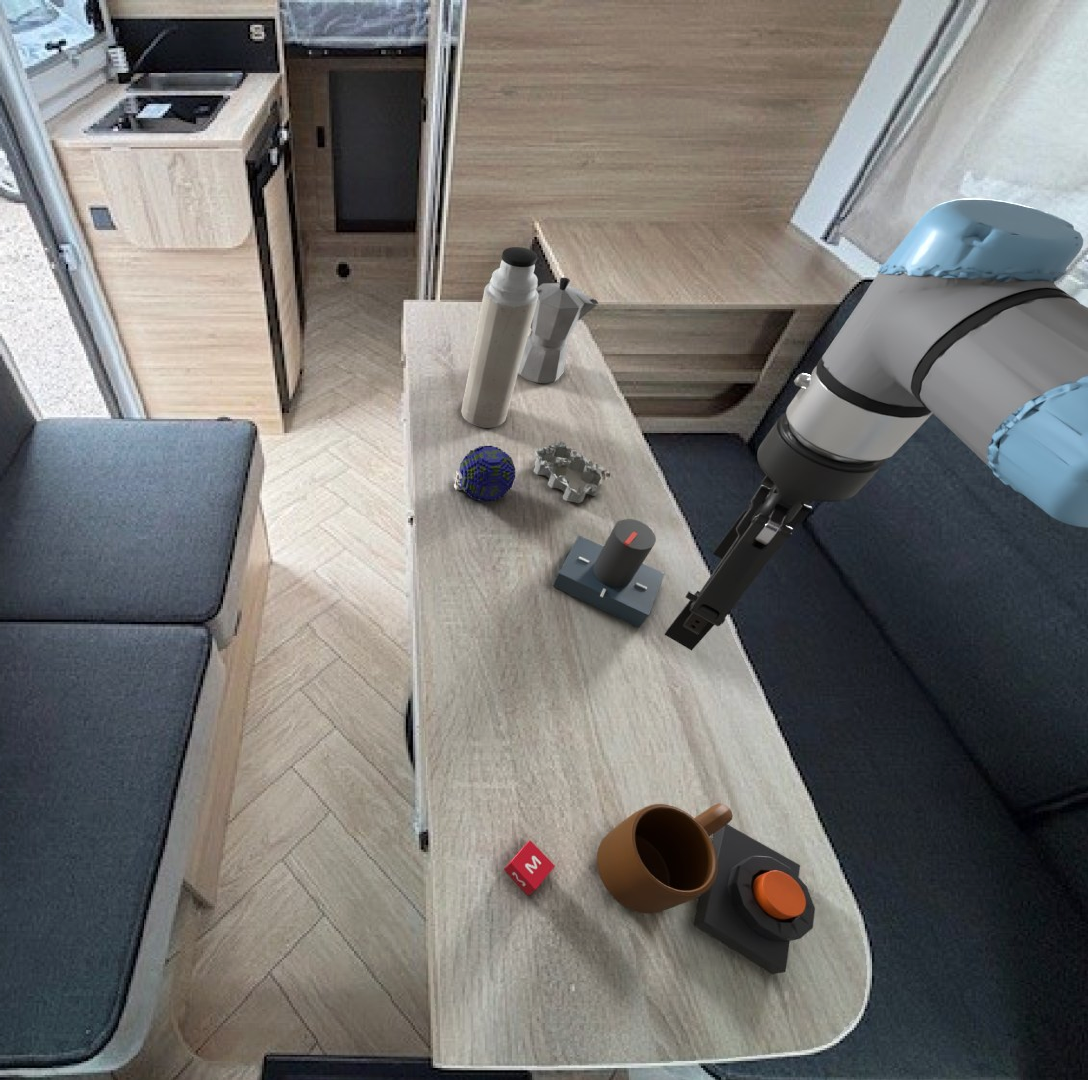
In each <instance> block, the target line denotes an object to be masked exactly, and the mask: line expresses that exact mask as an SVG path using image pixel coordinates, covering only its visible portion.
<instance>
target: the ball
mask: <svg viewBox="0 0 1088 1080" xmlns="http://www.w3.org/2000/svg"><path fill="white" fill-rule="evenodd" d="M455 473H456V476H454V484H453V488H454V489H455V491H464V493H465V494H468V496H469V497H470V498H471V499H475V500H476V501H480V502H495V501H496V500H499V499H500V498H504V496H506V494H507V493H508V492H509V491H510V490H511V489H512V488H513V485H514V482H515V479H516V467H515V464H514V461H513V459H512V456H510V455H509V454H508V453H507V452H506V451H503V450H502V449H501V448H499V447H497V446H494V445H481V446H478V447H476V448H474V449H471V450H469V452H468V453H467V454H466V455H465V456H464V457H463V459H462V460H461V462H460V464H459V469H456V470H455Z"/></svg>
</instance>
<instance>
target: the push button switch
mask: <svg viewBox="0 0 1088 1080" xmlns="http://www.w3.org/2000/svg"><path fill="white" fill-rule="evenodd" d="M711 840H712V842H713V845H714V847H715V850H716V854H717V860H718V870H717V876H716V879H715V881H714V883H713V885H712V886H711V887H710V888H709V889H708V890H707V891H706V892H705V893H703V894H701V895H700V896H698V901H697V905H696V911H695V915H694V919H693V924H692V925H693V926H694V927H696V928H697V929H699V930H701V931H702V932H704V933H705V934H707V935H708V936H710V937H712V938H713V939H715V940H716V941H718V942H720V943H721V944H723V945H725V946H726V947H727V948H729V949H731V950H732V951H733V952H736V953H737V954H739V955H741V957H744V958H745V959H747V960H749V961H750V962H752V963H753V964H755V965H756V966H758V967H760V968H761V969H763V970H764V971H766V972H767V973H769V974H771V975H775V974H783V973H786V972H787V966H788V965H787V964H788V959H789V951H790V942H791V941H796V940H800V939H802V938H803V937H804V936H805V935H807V934H808V933H809V932H810V931H811V930H813V928H814V922H815V921H814V920H815V913H816V907H815V904H814V902H813V899H812V896H811V894H810V891H809V889H808V887H807V885H806V883H804V881H802V880H801V878H800V869H801V865H800V864H799V863H797V862H795V861H794V860H792V859H791V858H788V857H787V856H786V855H785V856H784V855H783V854H781V853H780V852H778V851H776V850H774V849H772V848H771V847H769V846H767V845H765V844H764V843H762V842H760V841H758V840H756V839H754V838H753V837H751V836H749V835H747V834H745V833H744V832H742V831H741V830H739V829H737V828H735V827H733V826H732V825H730V824H729V823H728V824H726V825H725V826H724V827H722V828H721V829H719V830H718V831H716V832H715V833H713V837H712V839H711ZM769 871H781V872H784V873H786V874H787V875H789V876H790V877H792V878H793V879H794V880H795V881H796V882H797V883H798V884H799V886H800V887H801V889H802V891H803V893H804V896H805V900H806V906H805V909H804V911H803V913H802V914H801V915H799V916H796V917H792V918H788V919H777V918H774V917H772V916H770V915H769V914H767V913H766V912H765V911H764V910H763V909H762V908H761V907H760V906H759V904H758V903H757V901H756V899H755V897H754V893H753V882H754V880H755V878H756V877H757V876H759V875H762V874H764V873H767V872H769Z"/></svg>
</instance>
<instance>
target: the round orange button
mask: <svg viewBox="0 0 1088 1080" xmlns="http://www.w3.org/2000/svg"><path fill="white" fill-rule="evenodd" d="M753 893H754V897H755V899H756V901H757V903H758V904H759V906H760V907H761V908H762V909H763V910H764V911H765V912H766V913H767V914H769V915H770V916H772V917H774V918H777V919H788V918H792V917H796V916H799V915H801V914H802V913H803V911H804V909H805V906H806V900H805V896H804V893H803V891H802V889H801V887H800V886H799V884H798V883H797V882H796V881H795V880H794V879H793V878H792V877H790V876H789V875H787V874H786V873H784V872H781V871H769V872H767V873H764V874H762V875H759V876H757V877H756V878H755V880H754V882H753Z"/></svg>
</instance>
